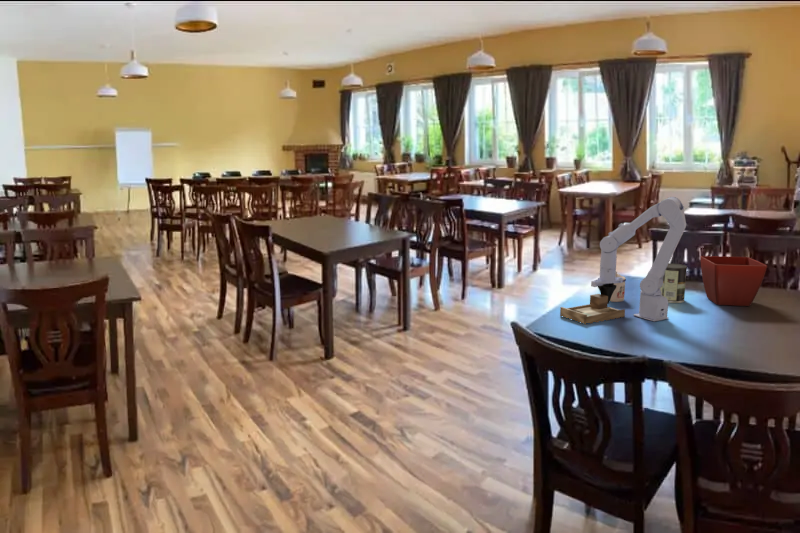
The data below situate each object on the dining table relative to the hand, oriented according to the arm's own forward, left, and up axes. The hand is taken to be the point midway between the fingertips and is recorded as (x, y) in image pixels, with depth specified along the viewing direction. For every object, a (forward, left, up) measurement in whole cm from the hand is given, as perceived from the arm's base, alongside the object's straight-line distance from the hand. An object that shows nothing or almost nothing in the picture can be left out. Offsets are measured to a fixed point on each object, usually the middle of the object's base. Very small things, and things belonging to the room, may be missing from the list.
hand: (605, 303), depth 263 cm
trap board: (-3, +10, -3) cm, 11 cm away
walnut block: (0, +4, -1) cm, 4 cm away
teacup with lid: (+12, -18, -3) cm, 21 cm away
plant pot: (-15, -53, -3) cm, 55 cm away
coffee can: (-1, -36, -3) cm, 36 cm away
